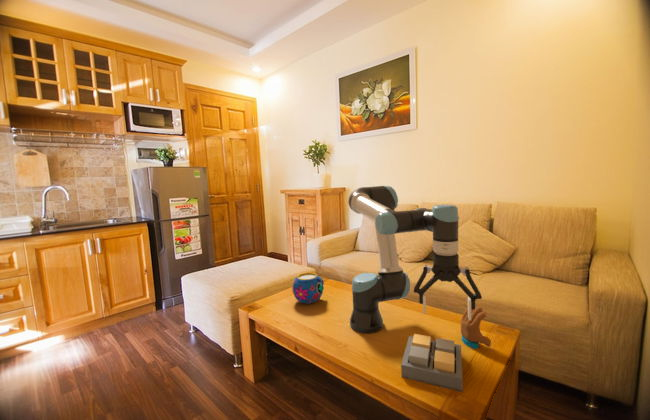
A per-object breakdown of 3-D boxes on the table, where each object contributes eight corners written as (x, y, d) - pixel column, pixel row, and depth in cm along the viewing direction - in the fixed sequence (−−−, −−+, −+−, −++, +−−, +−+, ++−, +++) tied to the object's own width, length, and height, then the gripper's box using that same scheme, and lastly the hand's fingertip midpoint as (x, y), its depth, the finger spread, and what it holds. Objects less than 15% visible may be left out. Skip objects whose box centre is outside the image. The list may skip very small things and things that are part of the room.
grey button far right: (435, 357, 98) (435, 346, 97) (436, 347, 103) (436, 337, 103) (454, 361, 95) (454, 350, 95) (454, 351, 100) (454, 340, 100)
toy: (492, 352, 103) (492, 314, 102) (475, 354, 103) (475, 316, 101) (472, 334, 115) (472, 300, 114) (456, 336, 115) (456, 301, 113)
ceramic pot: (324, 307, 148) (322, 280, 146) (291, 309, 148) (289, 282, 146) (324, 294, 165) (323, 270, 163) (295, 295, 165) (293, 271, 164)
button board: (401, 377, 93) (401, 364, 93) (409, 346, 110) (409, 335, 109) (462, 392, 85) (462, 378, 85) (461, 356, 102) (461, 345, 101)
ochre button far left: (412, 352, 101) (412, 342, 101) (414, 343, 106) (414, 333, 106) (429, 356, 98) (429, 345, 98) (431, 346, 104) (430, 336, 103)
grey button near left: (409, 366, 94) (408, 355, 93) (411, 355, 99) (411, 345, 99) (427, 370, 91) (427, 359, 91) (429, 359, 97) (429, 348, 96)
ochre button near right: (434, 371, 90) (434, 360, 90) (435, 360, 96) (435, 350, 95) (454, 376, 88) (454, 364, 87) (454, 364, 93) (454, 353, 93)
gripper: (404, 253, 90) (406, 315, 92) (492, 258, 80) (491, 326, 83) (406, 248, 97) (408, 305, 99) (488, 251, 87) (488, 315, 89)
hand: (446, 315), depth 91 cm, fingers open, 13 cm apart
